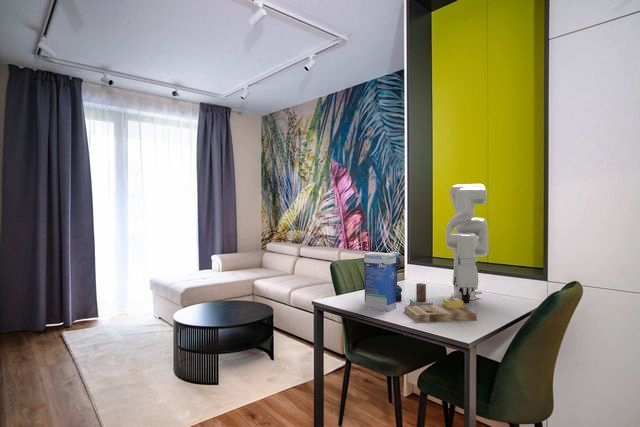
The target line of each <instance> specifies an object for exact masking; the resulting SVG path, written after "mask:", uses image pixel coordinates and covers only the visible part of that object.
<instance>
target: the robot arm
mask: <svg viewBox="0 0 640 427" xmlns="http://www.w3.org/2000/svg"><path fill="white" fill-rule="evenodd" d="M487 192H488V191H487V188H486V186H485V185H484V184H482V183H472V184H471V183H470V184H469V183H468V184H466V183H465V184H464V183H463V184H454V185H452V186H451V187H450V189H449V195H450V196H449V197H450V201H451V203H452V205H453V207H454V209H453V210H454V216H452V218H450V219H449V221H448V223H447V225H446V228H445V244H446V247H447V248H448V249H452V254H453V274H452V285H453V293H451V294H450V297H451V298H458V299H460V300H462V301H463V304H464V305H466V304H470V301H475V300H477V295H483V290H478V289H479V288H478V286H479V271H478V266H477V265H476V263H478V259H476V257H481V258H482V257H483V258H484V257H486V256H487V255H489V248H490V247H489V227H488V226H489V225H488V222H487V220H486V219H485V218H482V217H475V205H485V204H486V203H487V200H488V193H487ZM453 229H454V230H455V232H453Z"/></svg>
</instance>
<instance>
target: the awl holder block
mask: <svg viewBox="0 0 640 427" xmlns="http://www.w3.org/2000/svg"><path fill="white" fill-rule="evenodd" d="M418 305H423V306H424V305H434V303H433V302H432V301H430V300H429V299H427V298H426V302H417V301H416V298H414V299H413V298H411V299H409V306H418Z"/></svg>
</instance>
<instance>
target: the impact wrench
mask: <svg viewBox="0 0 640 427" xmlns="http://www.w3.org/2000/svg"><path fill="white" fill-rule="evenodd" d="M388 253H390V254H396V303H397V302H402V299H403V298H402V297H403V296H402V292H403V289H402V287H401V285H399V284H398V271H399V269H400V267H401V265H402V261H403V257H402V254H401V253H400V252H398V251H397V250H391V251H388Z"/></svg>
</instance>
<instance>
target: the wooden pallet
mask: <svg viewBox="0 0 640 427" xmlns="http://www.w3.org/2000/svg"><path fill="white" fill-rule="evenodd" d="M404 313H406V314H407V315H408V316H409V317H411V318H412V319H413V320H414V321H415V323H429V322H430V323H436V322H437V323H438V322H462V321H477V318H478V317H477V315H478V314H477V313H478V312H475V311H473V310H472V309H470V308H467V307H465V306H464V305H463V308H447V307H445V306H443V304H433V305H424V306H423V305H418V306H411V305H404Z"/></svg>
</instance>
